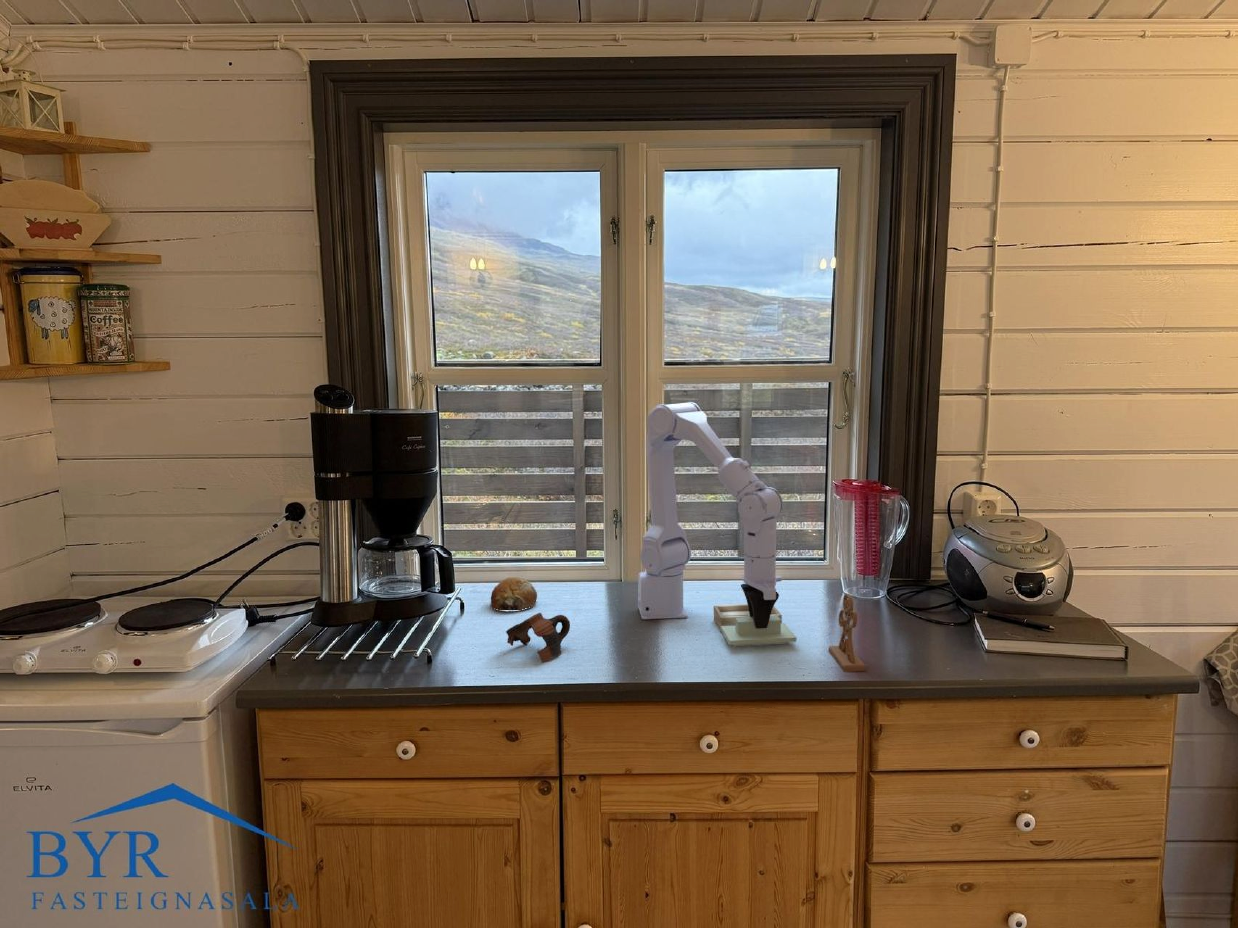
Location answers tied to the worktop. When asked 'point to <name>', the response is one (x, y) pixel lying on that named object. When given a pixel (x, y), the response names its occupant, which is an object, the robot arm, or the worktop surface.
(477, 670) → the worktop surface
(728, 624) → the box
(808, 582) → the worktop surface
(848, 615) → the tan tall carved piece
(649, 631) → the worktop surface
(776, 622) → the lid
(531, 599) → the bread roll
